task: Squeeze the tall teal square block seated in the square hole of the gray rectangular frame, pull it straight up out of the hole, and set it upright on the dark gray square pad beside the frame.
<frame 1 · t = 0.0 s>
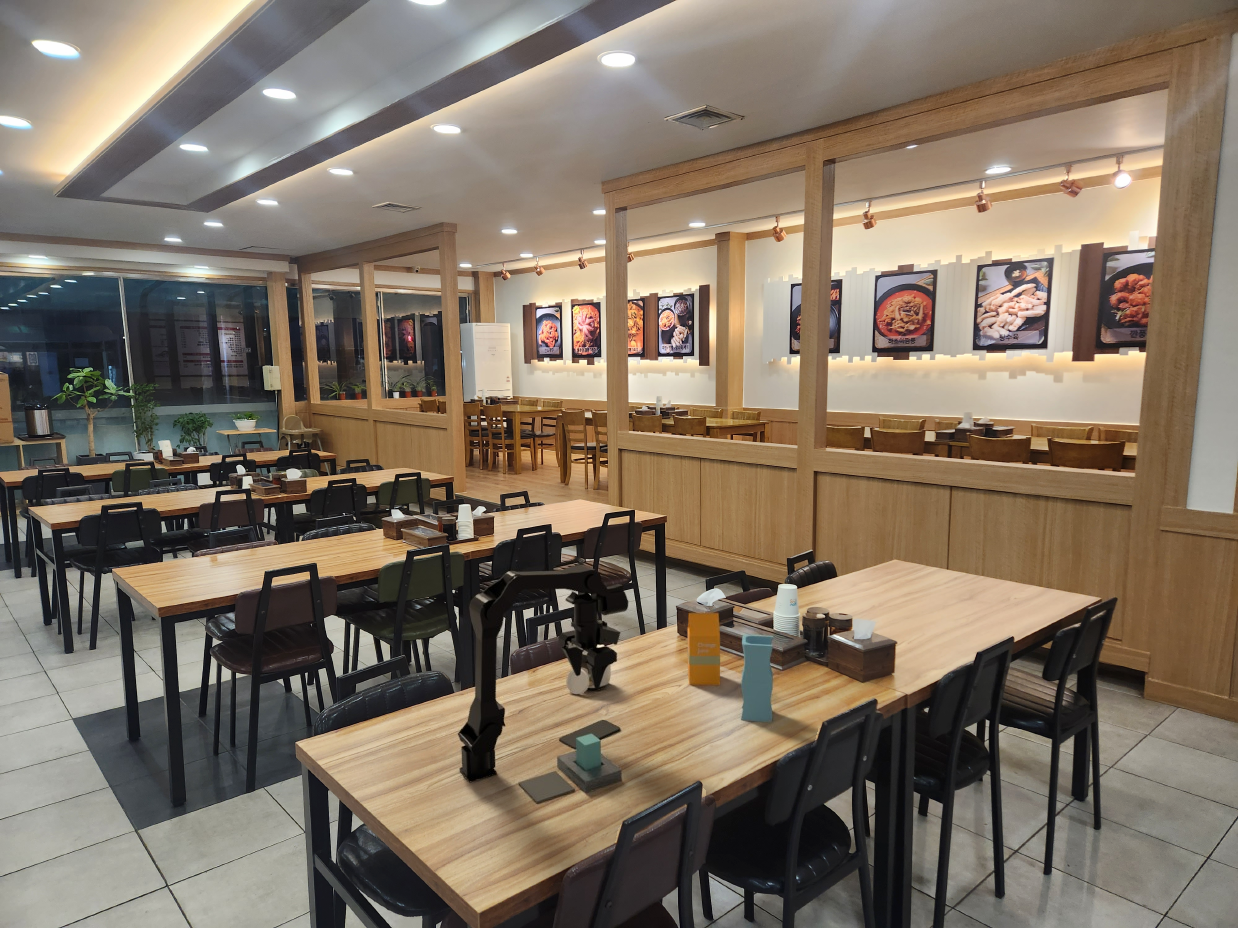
hand: (587, 681, 181), 15 cm above the table, tool pointing down, fingers open, 9 cm apart
smartphone: (590, 737, 186), on the table
gray rectangular frame: (588, 773, 167), on the table
dark gray square pad: (546, 787, 162), on the table
spread jar: (588, 689, 214), on the table
orange juice: (703, 680, 219), on the table
vase: (756, 715, 196), on the table
teal square block: (588, 756, 167), in the gray rectangular frame
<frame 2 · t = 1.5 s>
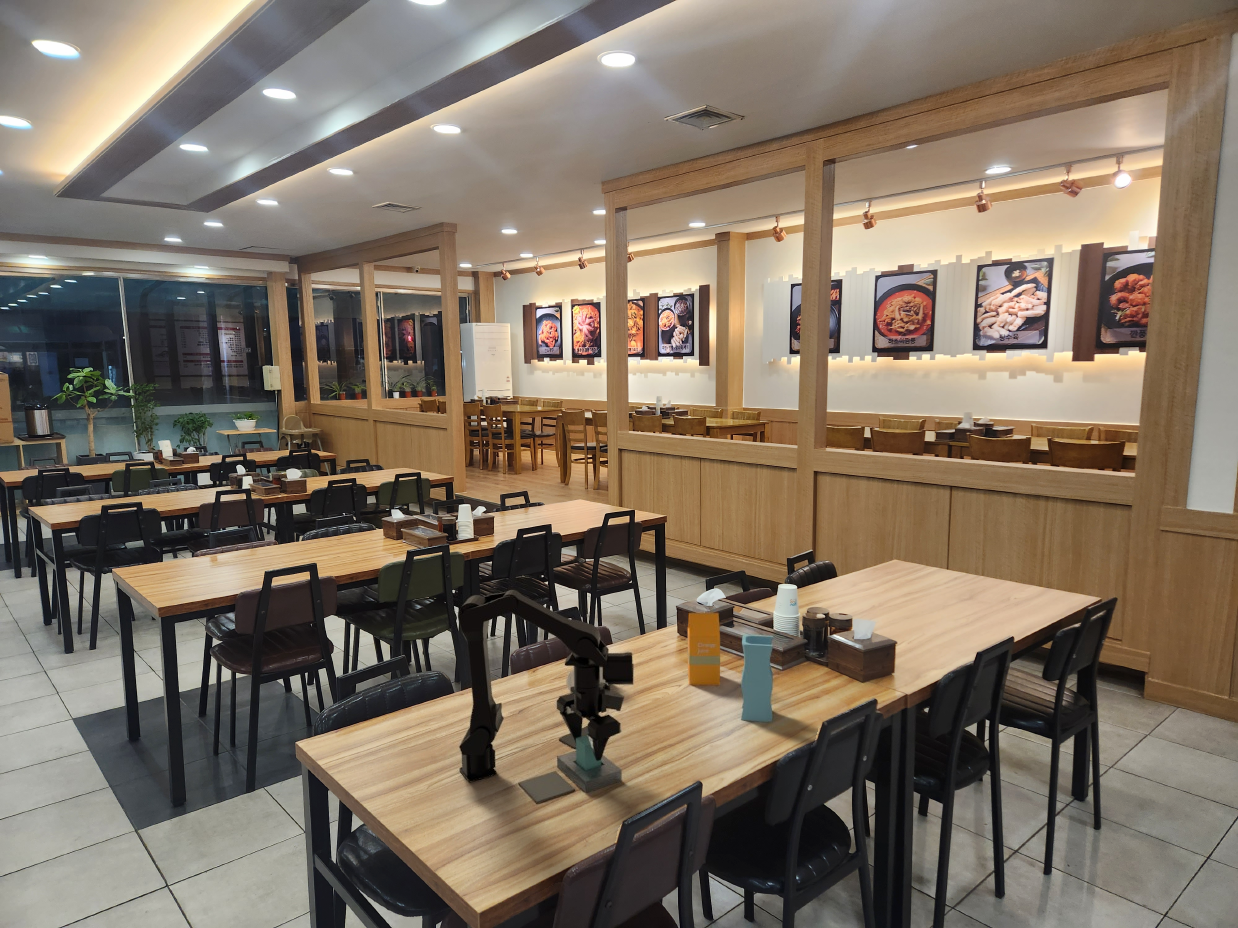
hand: (588, 751, 167), 5 cm above the table, tool pointing down, fingers open, 9 cm apart
nothing on the table moved.
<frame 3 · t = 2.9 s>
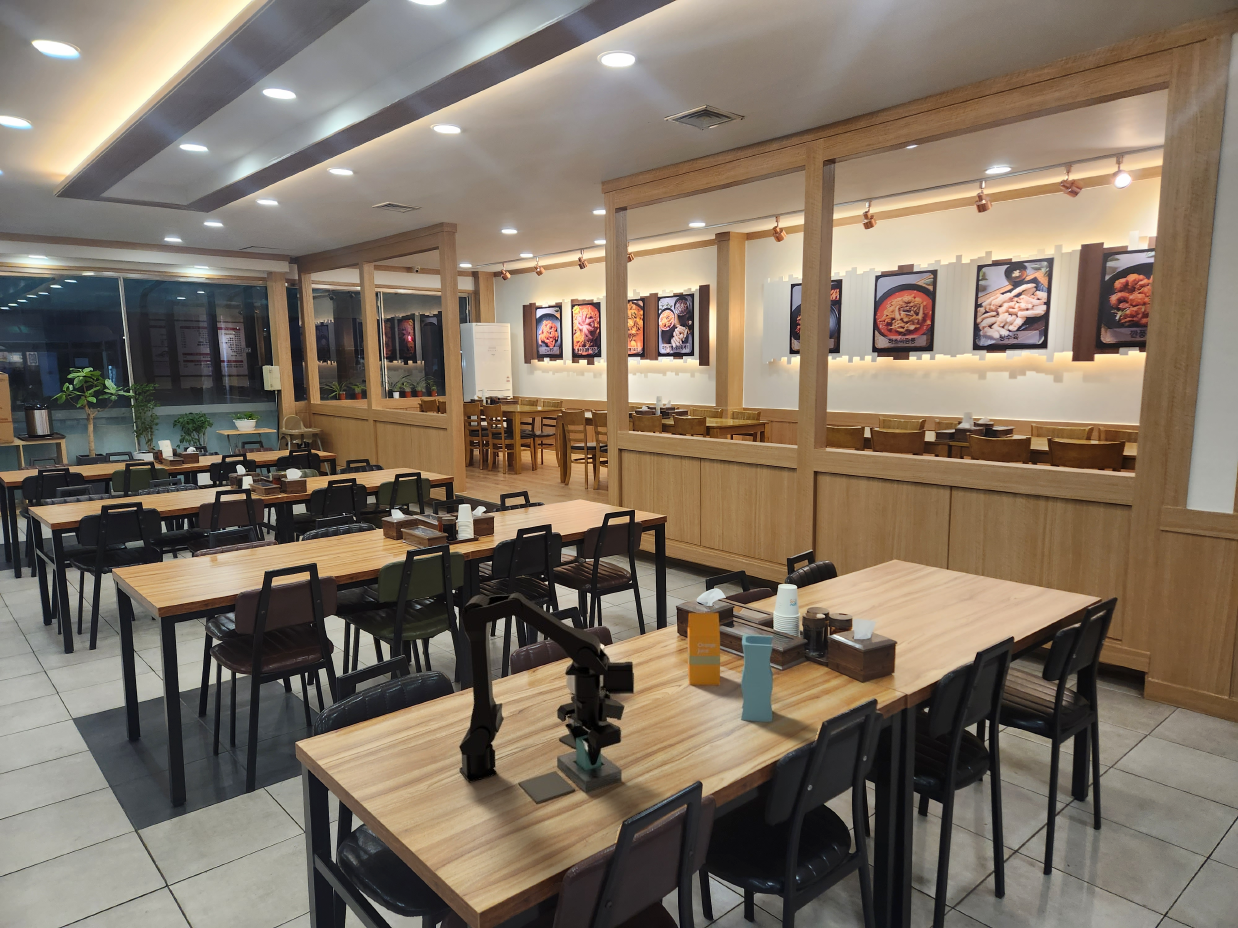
hand: (588, 760, 167), 3 cm above the table, tool pointing down, fingers closed on teal square block, 4 cm apart
teal square block: (588, 756, 167), in the gray rectangular frame, touching gripper
everything else where it was.
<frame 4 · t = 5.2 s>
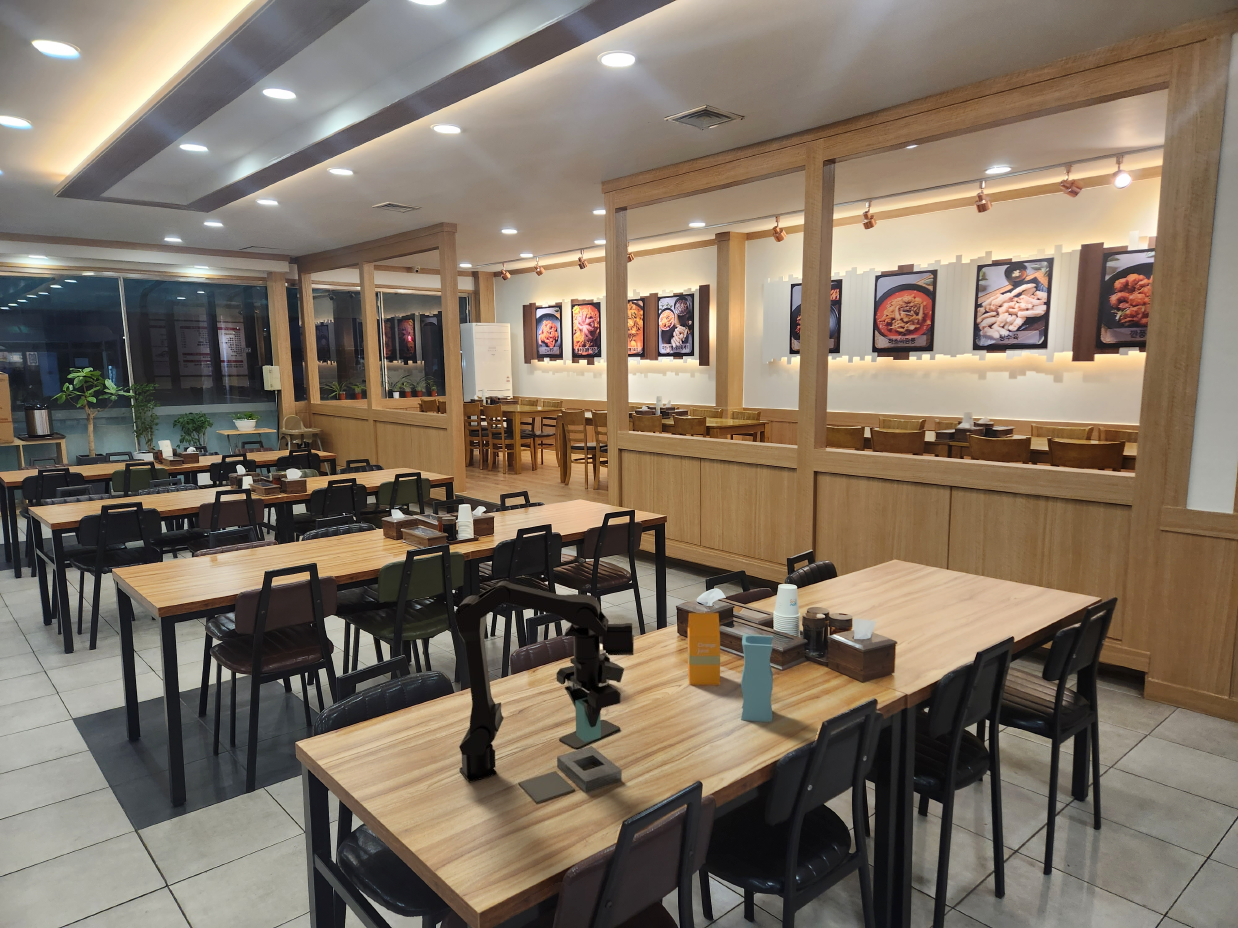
hand: (588, 722, 166), 12 cm above the table, tool pointing down, fingers closed on teal square block, 4 cm apart
teal square block: (588, 718, 166), point 13 cm above the table, touching gripper
everything else where it was.
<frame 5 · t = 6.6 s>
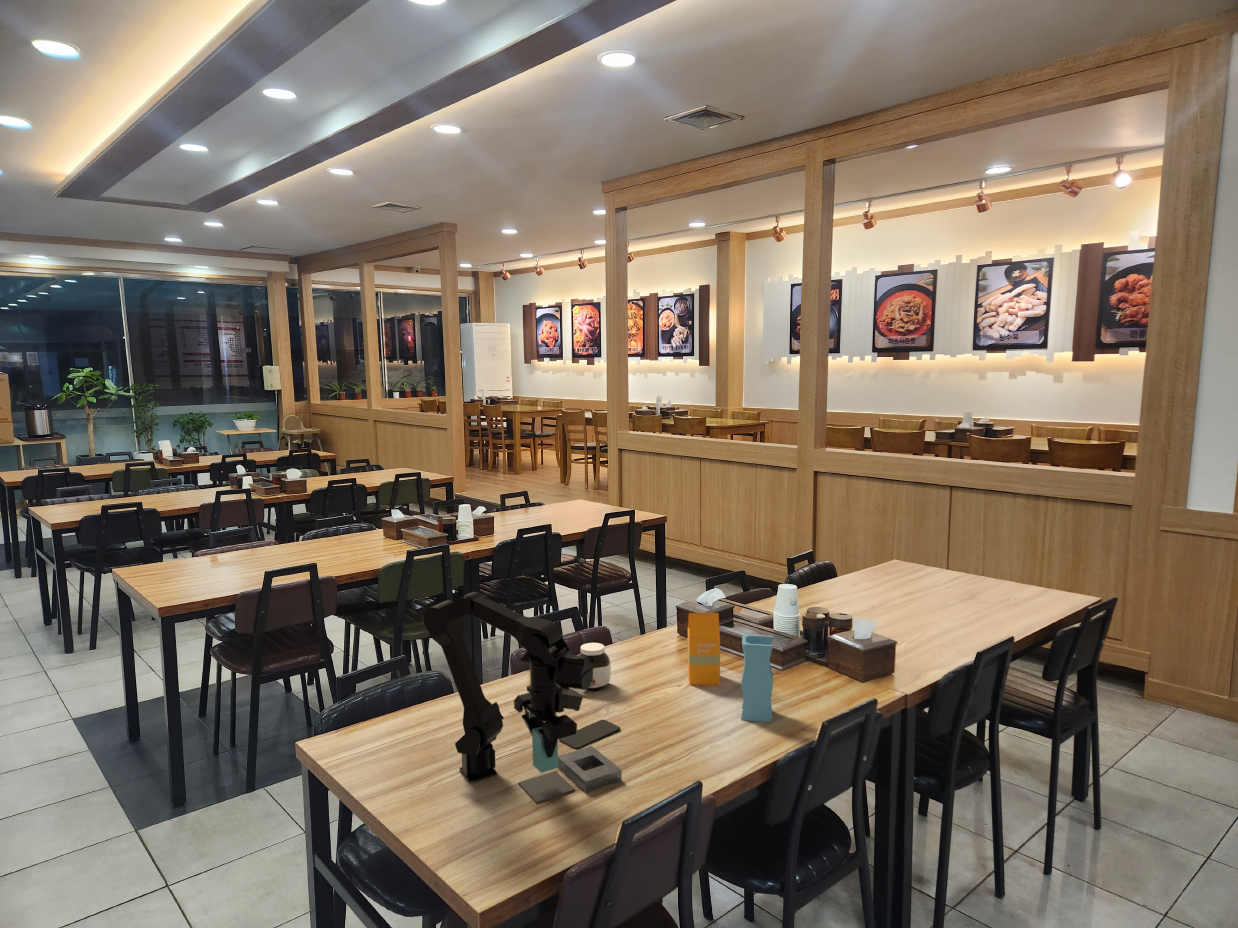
hand: (545, 752, 161), 8 cm above the table, tool pointing down, fingers closed on teal square block, 4 cm apart
teal square block: (545, 748, 161), point 9 cm above the table, touching gripper
everything else where it was.
when the fingers open (5 cm above the table, at t = 7.8 s): teal square block drops 1 cm, resting on dark gray square pad.
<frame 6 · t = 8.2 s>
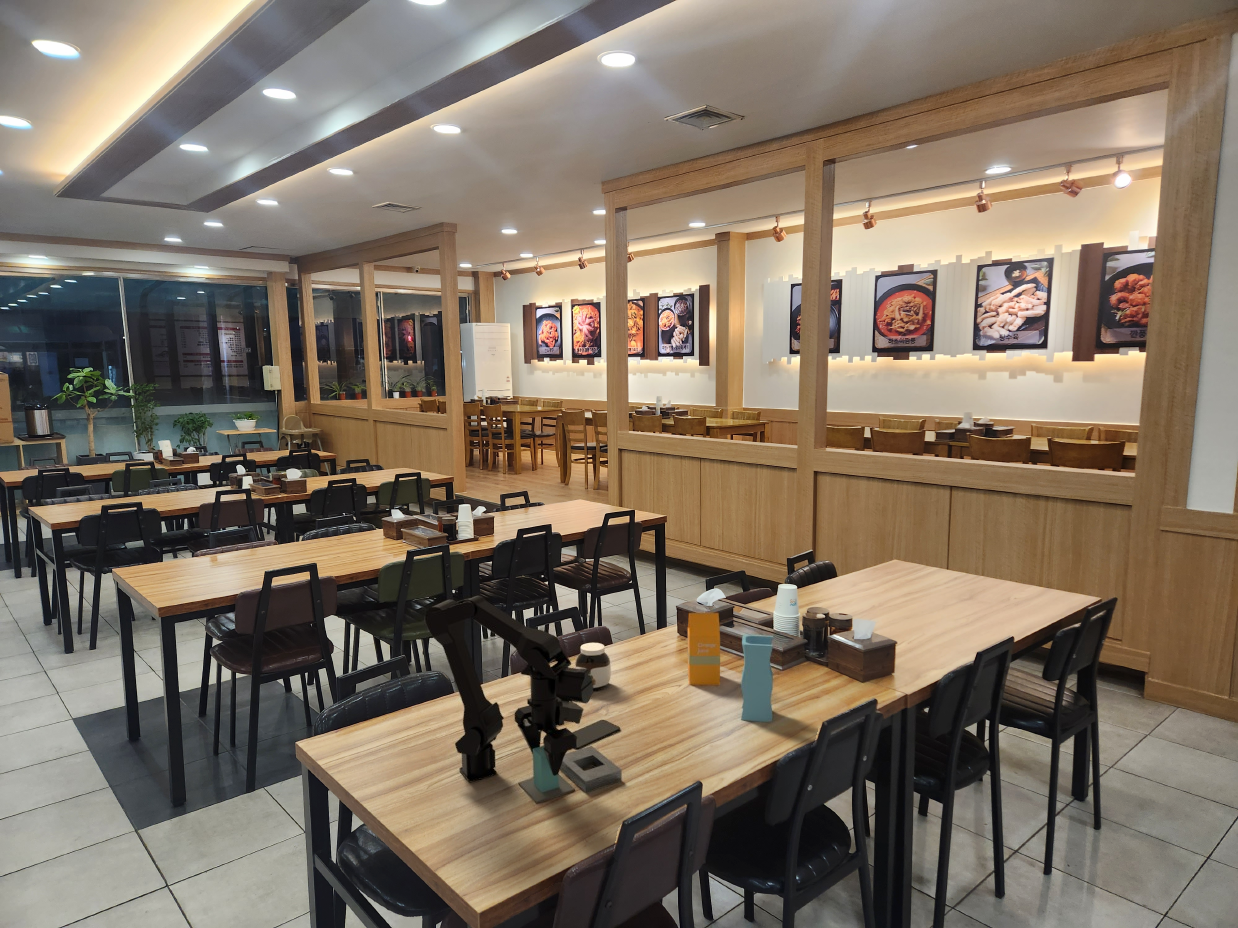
hand: (545, 765, 161), 5 cm above the table, tool pointing down, fingers open, 9 cm apart
teal square block: (545, 767, 161), on the dark gray square pad
everything else where it was.
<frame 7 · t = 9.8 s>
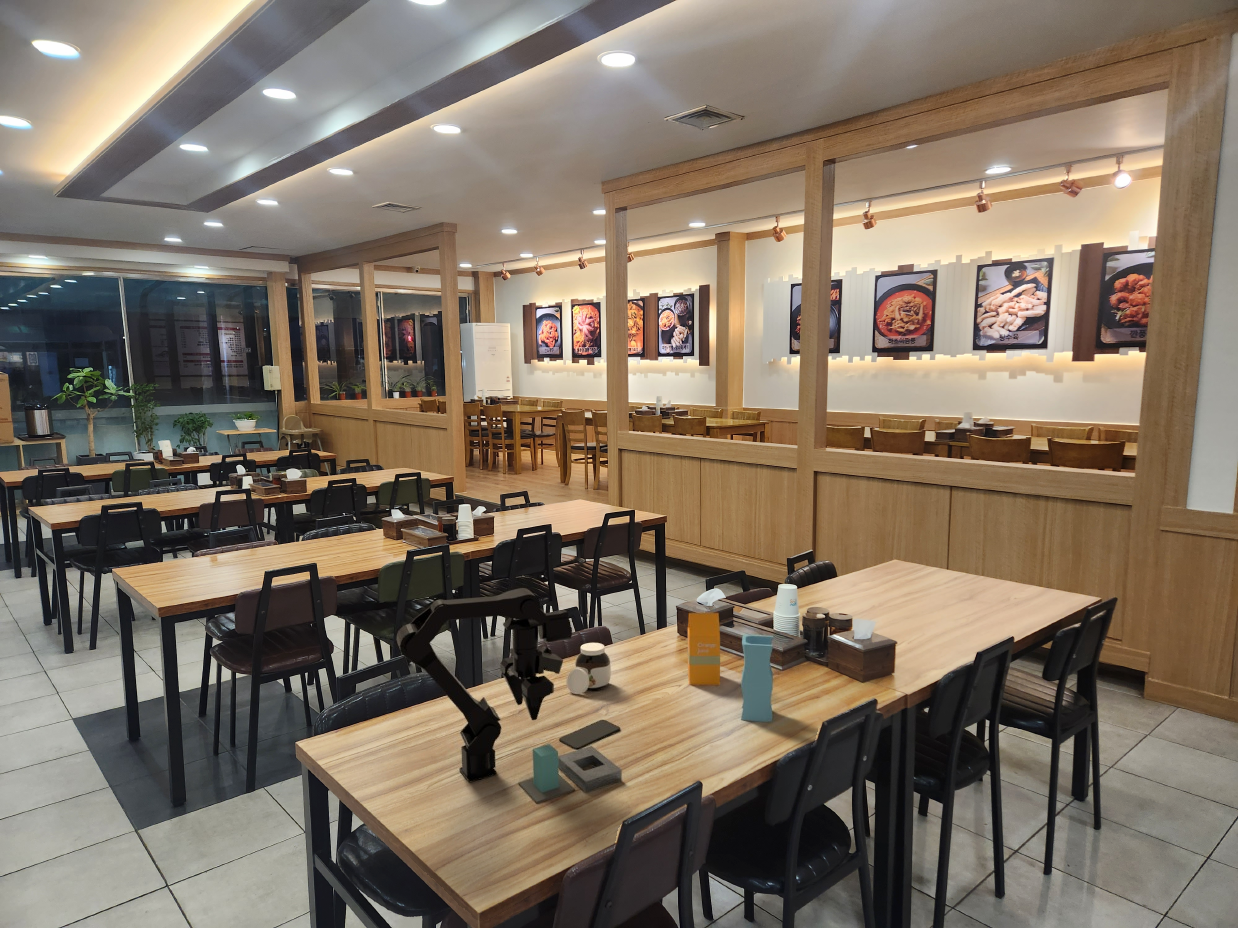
hand: (526, 711, 171), 12 cm above the table, tool pointing down, fingers open, 9 cm apart
nothing on the table moved.
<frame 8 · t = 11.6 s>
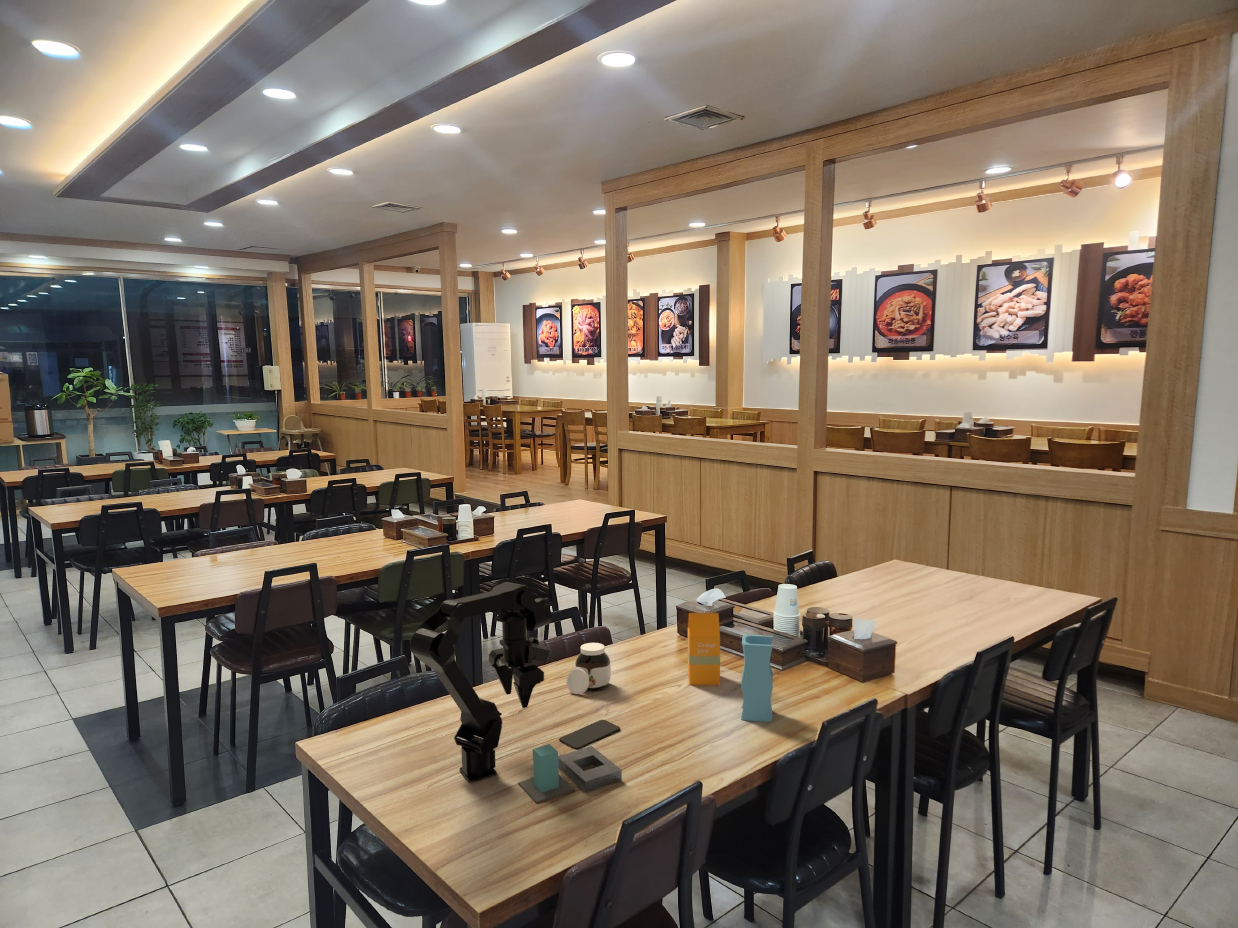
hand: (516, 700, 177), 12 cm above the table, tool pointing down, fingers open, 9 cm apart
nothing on the table moved.
at the end: teal square block inside the target area (0.0 cm from its centre), resting on dark gray square pad; teal square block tilted 0°; the gripper is holding nothing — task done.
